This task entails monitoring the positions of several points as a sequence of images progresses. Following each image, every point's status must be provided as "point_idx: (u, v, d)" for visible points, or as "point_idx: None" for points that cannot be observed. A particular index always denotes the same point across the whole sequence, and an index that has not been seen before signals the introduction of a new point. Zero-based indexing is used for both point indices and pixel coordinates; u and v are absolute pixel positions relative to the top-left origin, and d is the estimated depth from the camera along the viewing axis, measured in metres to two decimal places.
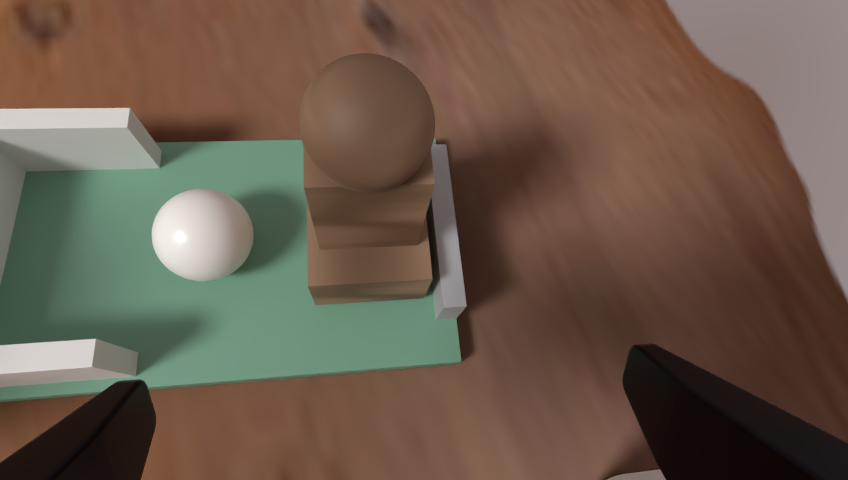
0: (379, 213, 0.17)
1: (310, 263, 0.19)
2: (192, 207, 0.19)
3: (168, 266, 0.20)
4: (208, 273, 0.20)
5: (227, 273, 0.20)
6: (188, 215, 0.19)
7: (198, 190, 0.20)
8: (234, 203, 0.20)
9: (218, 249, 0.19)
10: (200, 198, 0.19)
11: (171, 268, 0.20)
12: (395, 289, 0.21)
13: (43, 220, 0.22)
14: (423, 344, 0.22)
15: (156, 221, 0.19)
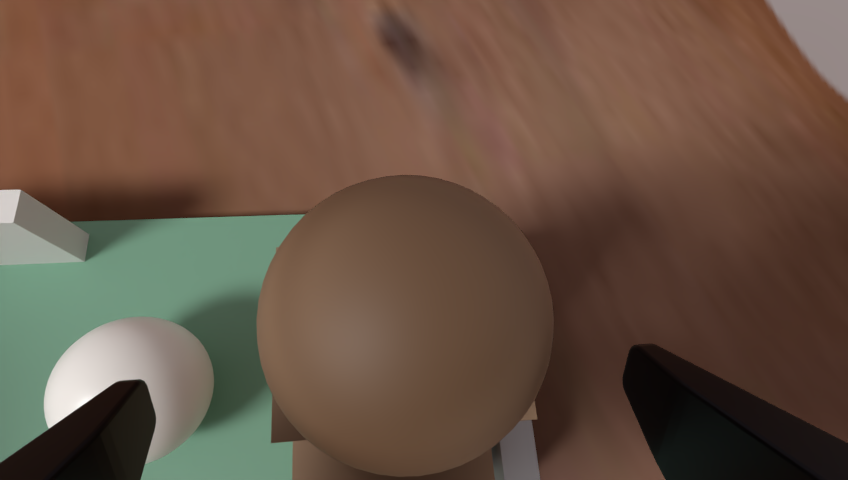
0: None
1: (297, 458, 0.12)
2: (104, 367, 0.12)
3: None
4: None
5: (169, 452, 0.13)
6: (96, 383, 0.11)
7: (121, 328, 0.13)
8: (180, 345, 0.13)
9: None
10: (120, 348, 0.12)
11: None
12: None
13: None
14: None
15: (48, 386, 0.12)
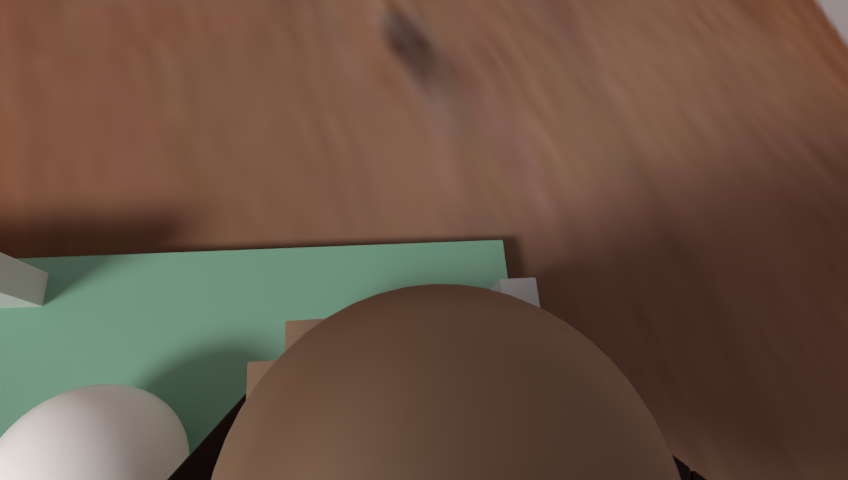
0: None
1: None
2: (45, 463, 0.09)
3: None
4: None
5: None
6: None
7: (71, 406, 0.10)
8: (144, 424, 0.11)
9: None
10: (67, 436, 0.10)
11: None
12: None
13: None
14: None
15: None
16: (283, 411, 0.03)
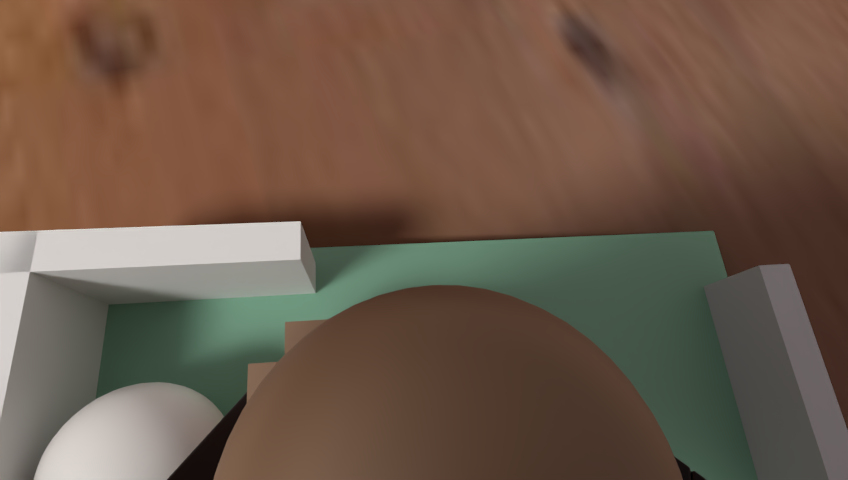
0: None
1: None
2: None
3: None
4: None
5: None
6: None
7: None
8: None
9: None
10: None
11: None
12: None
13: None
14: None
15: None
16: (285, 413, 0.03)
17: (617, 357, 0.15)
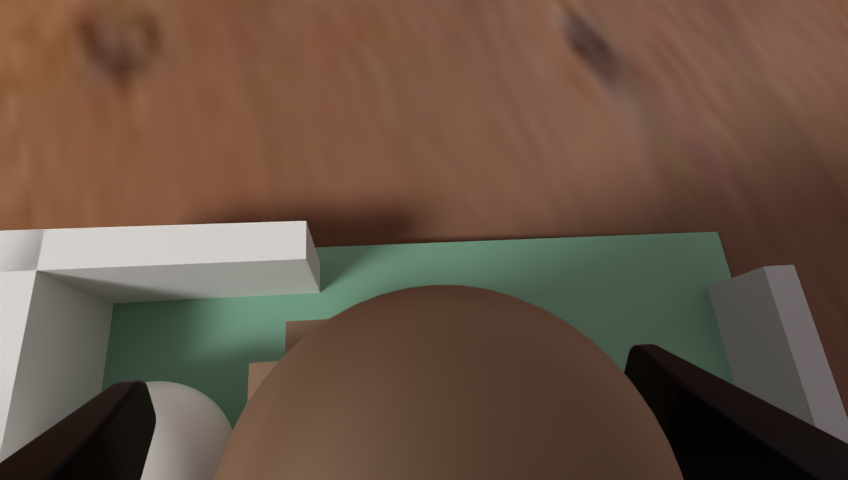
0: None
1: None
2: None
3: None
4: None
5: None
6: None
7: None
8: None
9: None
10: None
11: None
12: None
13: None
14: None
15: None
16: (286, 412, 0.03)
17: (621, 357, 0.15)
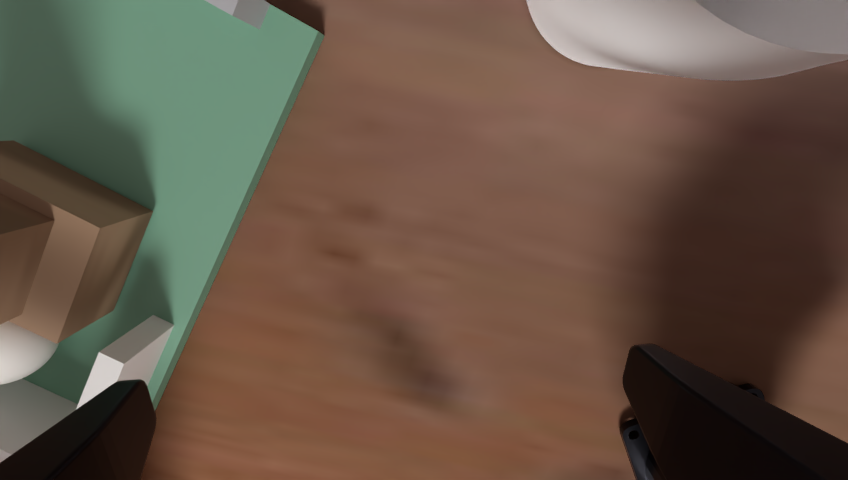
0: None
1: (33, 329, 0.18)
2: None
3: None
4: (45, 362, 0.20)
5: (22, 375, 0.19)
6: None
7: None
8: None
9: None
10: None
11: None
12: (110, 253, 0.18)
13: None
14: (278, 60, 0.18)
15: None
16: None
17: (83, 41, 0.18)
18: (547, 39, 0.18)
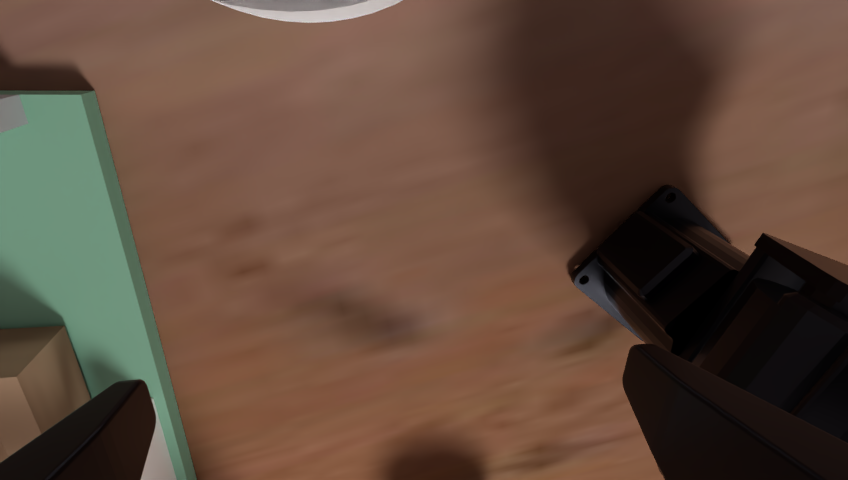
0: None
1: None
2: None
3: None
4: None
5: None
6: None
7: None
8: None
9: None
10: None
11: None
12: (49, 383, 0.19)
13: None
14: (67, 141, 0.18)
15: None
16: None
17: None
18: None
